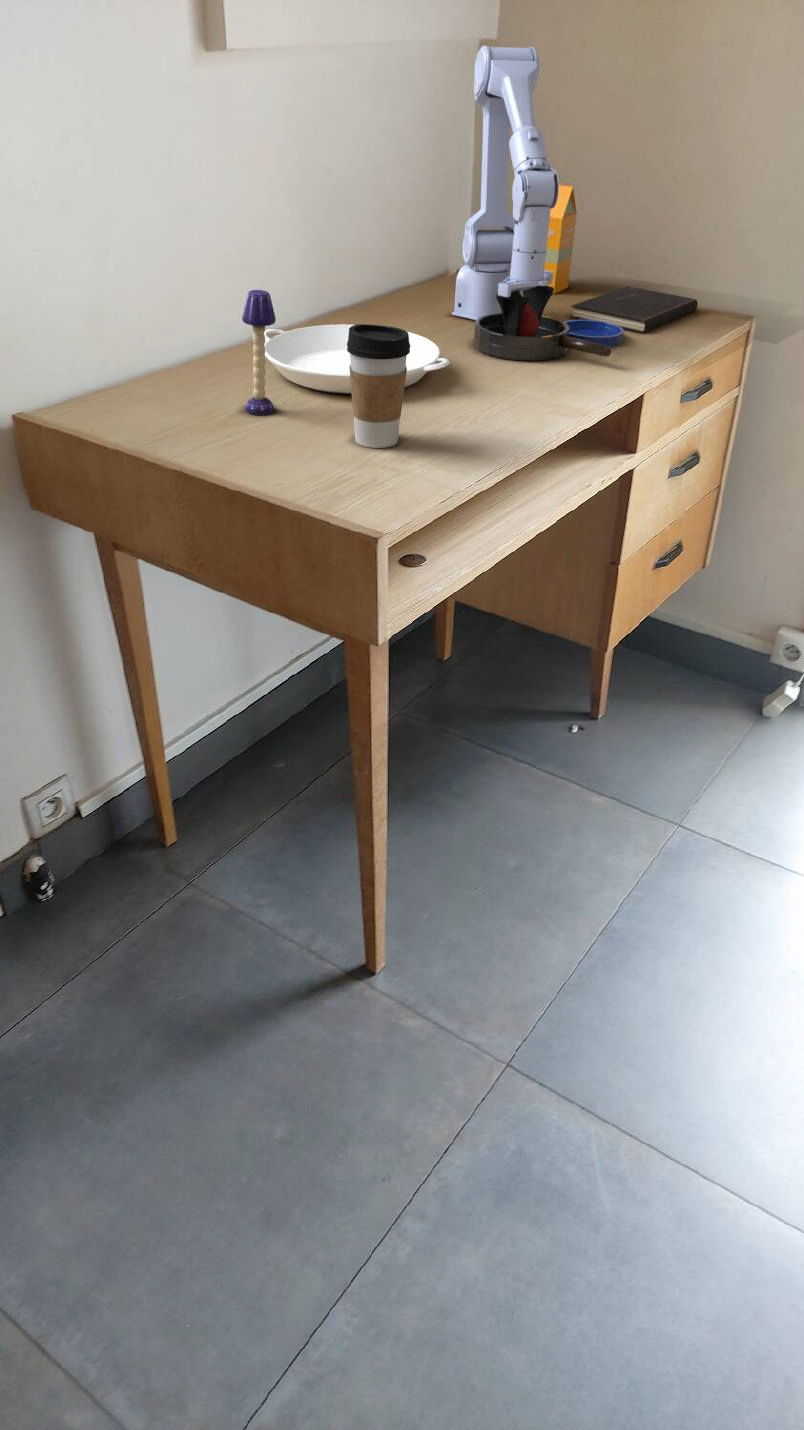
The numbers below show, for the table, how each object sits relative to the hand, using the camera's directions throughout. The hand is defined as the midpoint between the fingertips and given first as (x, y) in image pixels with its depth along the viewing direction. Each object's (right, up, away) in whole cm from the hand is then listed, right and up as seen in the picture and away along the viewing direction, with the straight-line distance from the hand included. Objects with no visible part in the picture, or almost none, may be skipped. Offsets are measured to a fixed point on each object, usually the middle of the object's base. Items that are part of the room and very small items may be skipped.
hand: (521, 332), depth 184 cm
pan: (-29, -12, -14) cm, 34 cm away
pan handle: (+10, -5, -6) cm, 13 cm away
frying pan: (0, -2, +1) cm, 3 cm away
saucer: (+14, +2, +8) cm, 16 cm away
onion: (0, -2, +1) cm, 3 cm away
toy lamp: (-42, -23, -30) cm, 56 cm away
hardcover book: (+25, +12, +23) cm, 36 cm away
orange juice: (+9, +24, +39) cm, 47 cm away
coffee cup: (-25, -29, -38) cm, 54 cm away
